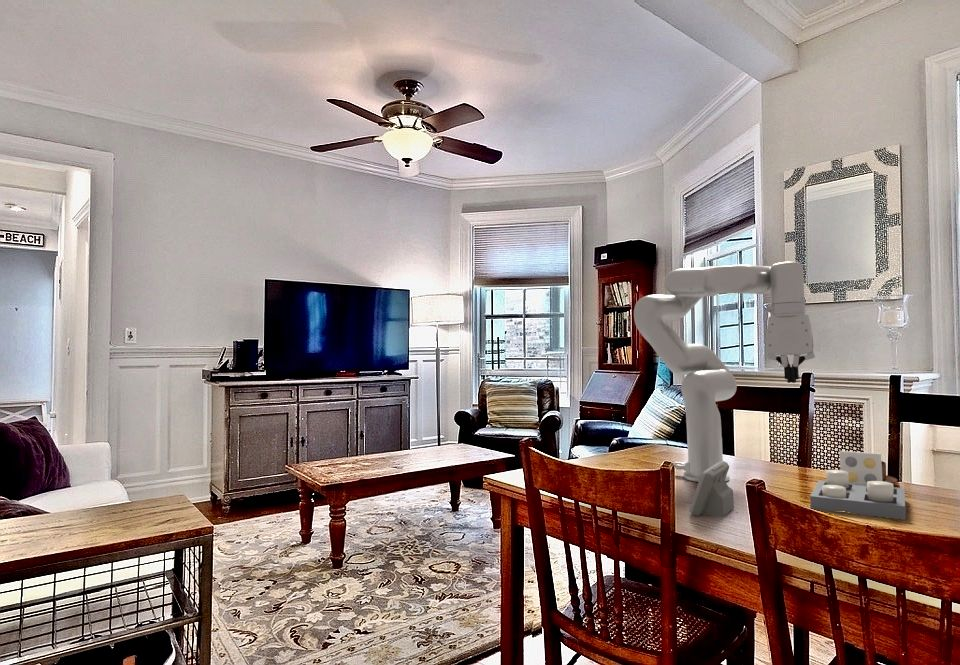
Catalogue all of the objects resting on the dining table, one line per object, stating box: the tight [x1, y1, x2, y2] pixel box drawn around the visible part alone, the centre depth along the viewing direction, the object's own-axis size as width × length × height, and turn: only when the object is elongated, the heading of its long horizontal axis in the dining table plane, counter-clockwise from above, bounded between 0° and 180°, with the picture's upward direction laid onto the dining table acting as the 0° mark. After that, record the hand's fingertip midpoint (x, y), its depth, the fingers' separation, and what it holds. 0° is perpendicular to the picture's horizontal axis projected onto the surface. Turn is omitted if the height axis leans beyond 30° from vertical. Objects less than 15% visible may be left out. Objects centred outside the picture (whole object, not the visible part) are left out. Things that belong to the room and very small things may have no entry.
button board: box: [809, 480, 907, 521], centre depth 137 cm, size 18×18×3 cm
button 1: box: [822, 485, 846, 498], centre depth 136 cm, size 5×5×4 cm
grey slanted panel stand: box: [689, 460, 735, 518], centre depth 137 cm, size 16×9×11 cm, turn 130°
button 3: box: [867, 481, 894, 502], centre depth 131 cm, size 5×5×4 cm
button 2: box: [825, 469, 849, 488], centre depth 143 cm, size 5×5×4 cm
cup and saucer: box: [881, 460, 898, 486], centre depth 156 cm, size 12×12×6 cm
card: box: [839, 450, 883, 485], centre depth 148 cm, size 10×3×10 cm, turn 54°
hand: (791, 382), depth 146 cm, fingers closed
